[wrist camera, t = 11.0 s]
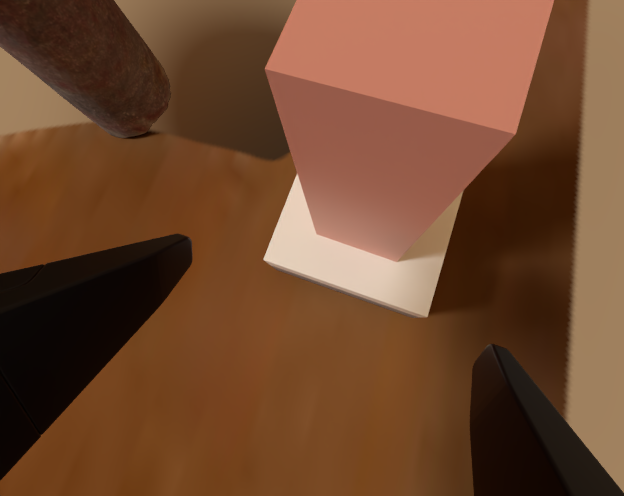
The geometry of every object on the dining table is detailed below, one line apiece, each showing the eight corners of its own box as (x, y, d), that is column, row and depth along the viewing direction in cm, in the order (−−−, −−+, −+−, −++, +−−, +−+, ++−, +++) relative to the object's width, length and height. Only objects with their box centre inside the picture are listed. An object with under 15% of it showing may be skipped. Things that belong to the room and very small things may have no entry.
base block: (411, 317, 21) (427, 317, 17) (276, 269, 23) (263, 259, 19) (450, 186, 23) (472, 159, 19) (322, 150, 25) (318, 119, 21)
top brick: (396, 261, 18) (515, 134, 6) (316, 234, 19) (265, 68, 6) (422, 185, 19) (575, -72, 7) (344, 162, 20) (346, -107, 7)
